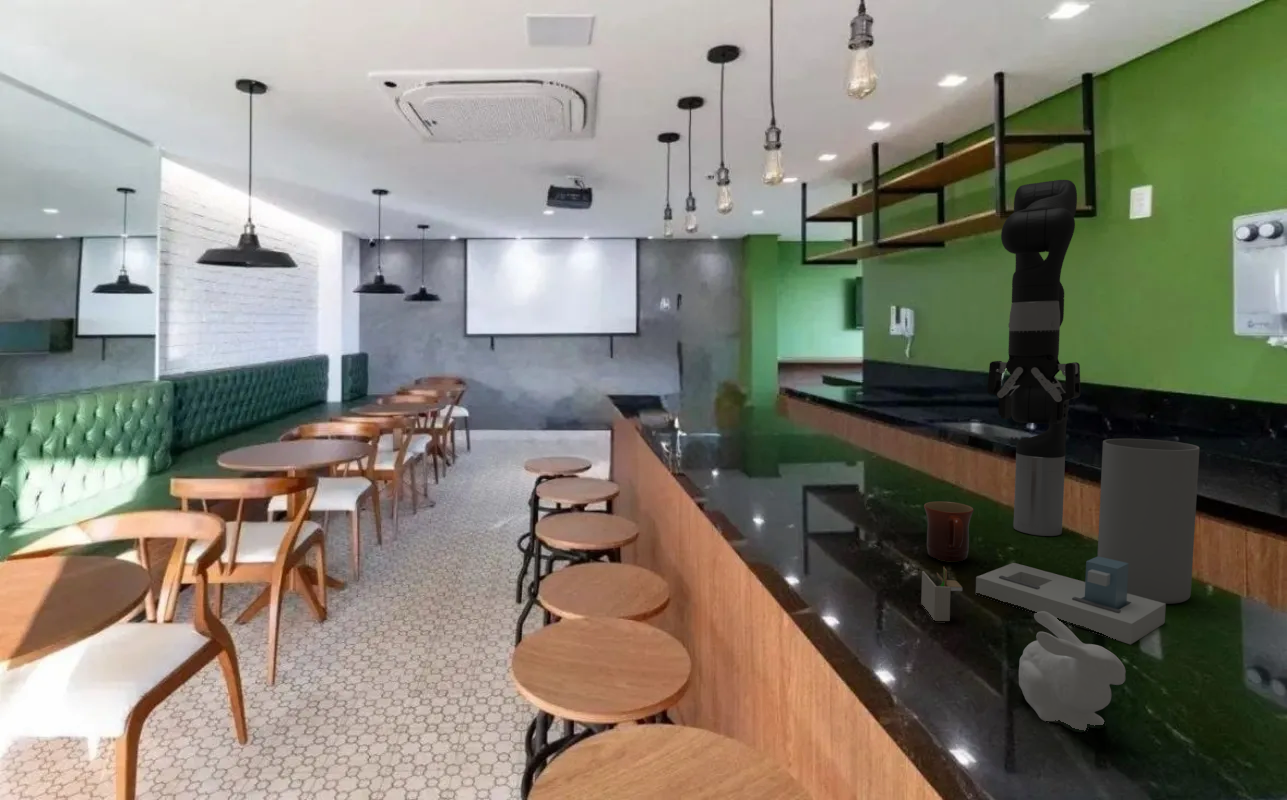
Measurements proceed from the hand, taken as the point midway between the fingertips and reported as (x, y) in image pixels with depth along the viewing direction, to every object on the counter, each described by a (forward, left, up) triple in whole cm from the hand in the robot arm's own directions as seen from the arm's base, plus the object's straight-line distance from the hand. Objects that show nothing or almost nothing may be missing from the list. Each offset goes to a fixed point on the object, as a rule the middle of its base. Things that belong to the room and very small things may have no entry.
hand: (1030, 420), depth 112 cm
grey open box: (+27, 0, -29) cm, 40 cm away
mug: (+3, -13, -29) cm, 31 cm away
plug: (+9, +16, -28) cm, 34 cm away
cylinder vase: (-9, +14, -29) cm, 33 cm away
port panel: (+9, +10, -28) cm, 31 cm away
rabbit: (+41, +24, -29) cm, 56 cm away
